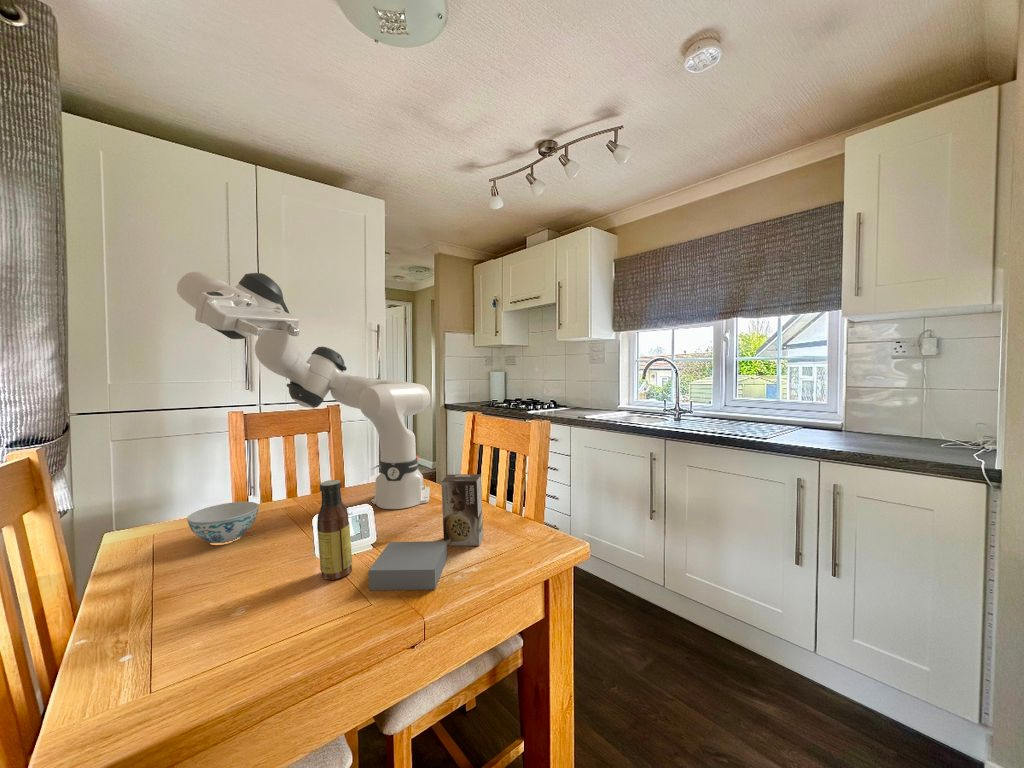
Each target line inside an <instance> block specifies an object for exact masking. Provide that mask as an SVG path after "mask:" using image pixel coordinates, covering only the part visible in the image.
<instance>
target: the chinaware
mask: <svg viewBox="0 0 1024 768" xmlns="http://www.w3.org/2000/svg"><path fill="white" fill-rule="evenodd" d="M258 512H259V503H257V502H253V501H234V502H227V503H226V502H225V503H220V504H216V505H212V506H209V507H208V506H207V507H204V508H201V509H198V510H196V511H194V512H192V513H190V514H189V515H188V516H187V517H186V521H187V524H188V526H189V528H190V530H191V531H192V533H193V534H194V535H195V536H196V537H198V538H199V539H201V540H203V541H205V542H210V543H225V542H229V541H233V540H235V539H237V538H239V537H240V536H241V537H242V535H244V533H246V532H247V531H248V530H249V529H250V528H251V526H252V525H253V523H254V522H255V520H256V519H257V516H258Z"/></svg>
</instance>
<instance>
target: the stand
mask: <svg viewBox="0 0 1024 768" xmlns="http://www.w3.org/2000/svg"><path fill="white" fill-rule="evenodd" d="M447 561H448V545H447V541H444V540H439V541H438V540H434V541H425V540H424V541H422V540H421V541H389V542H388V543H387V545H386V546H385V547H384V548H383V550H382V552H381V553H380V554H379V556H378V557H377V558H376V560H375V561H374V562H373V563H372V565H371V566H370V568H369V569H368V590H369V591H430V590H431V591H433V590H432V589H435V590H436V589H437V587H436V586H438V583H439V582H440V581H439V580H440V579H439V578H441V575H442V573H443V570H444V568H445V565H446V562H447ZM429 589H430V590H429Z"/></svg>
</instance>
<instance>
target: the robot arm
mask: <svg viewBox="0 0 1024 768" xmlns="http://www.w3.org/2000/svg"><path fill="white" fill-rule="evenodd" d="M176 291H177V294H178V296H179V297H180V298H181V299H182V300H184V302H186V304H188V305H190V306H191V307H193V308H194V309H195V312H194V313H195V315H194V320H195V321H196V322H198V323H201V324H204V325H206V326H207V327H210V328H211V329H212V330H215V331H216V332H218V333H221V335H224V336H225V337H226V338H229V339H231V340H243V339H244V340H245V339H247V338H248V337H249V336H250V335H253V336H258V337H257V339H256V342H255V344H254V354H255V356H256V358H257V360H258V361H259V362H260V363H261V365H263V366H264V367H265V368H266V369H268V370H269V371H271V372H272V373H274V374H275V375H278V376H281V377H283V378H286V379H288V380H289V383H287V384H286V387H287V388H288V393H289V396H290V397H291V399H292V400H293V401H294V402H295V403H296V404H298V405H299V406H300V407H303V408H312V409H315V408H318V407H320V405H321V404H323V403H324V401H325V400H324V399H325V397H327V394H328V393H329V392H330V395H331V397H332V398H333V399H334V400H335V401H337V402H338V403H339V404H342V405H344V406H348V407H350V408H354V409H357V410H358V409H359V410H360V412H361V413H362V414H363V416H365V418H367V419H369V420H370V422H371V423H372V424H373V426H374V427H375V429H376V431H377V435H378V438H379V448H380V460H379V466H378V468H379V472H380V474H379V475H378V476H376V477H375V488H374V489H375V490H374V498H372V499H370V503H371V502H372V503H373V504H372V503H371V504H372V505H375V504H376V505H375V506H377V507H378V508H381V509H385V510H401V509H406V508H412V507H414V506H418V505H421V504H426V503H429V502H430V494H431V492H430V491H431V490H430V488H431V487H429V486H425V485H424V475H423V474H422V472H421V471H420V470H419V456H418V455H417V448H416V446H417V443H416V435H415V433H414V432H413V431H412V430H411V429H410V428H408V427H406V424H405V421H404V417H409V416H414V415H417V414H420V413H422V412H424V411H426V410H427V409H428V408H429V406H430V403H431V394H430V391H429V389H428V388H427V387H426V386H425V385H424V384H422V383H421V384H420V383H415V382H409V381H401V380H399V381H398V380H391V379H377V378H371V377H365V376H358V375H349V374H347V373H344V372H345V371H347V369H348V368H347V366H346V365H345V361H344V359H343V356H342V355H341V354H340V353H338V352H337V351H336V349H333V348H331V347H328V346H327V347H326V346H317V347H316V348H315V349H314V350H313V351H312V352H311V353H310V357H308V359H307V360H305V357H304V355H303V353H302V351H301V350H300V348H299V346H297V345H296V341H295V340H296V337H298V336H299V335H300V331H301V330H300V329H299V324H300V318H298V317H297V316H295V315H293V314H291V313H290V312H289V309H288V307H287V304H286V302H285V300H284V295H283V291H282V288H281V287H280V285H278V283H277V282H276V281H275V280H274V279H273V278H271V277H270V276H268V275H267V274H264V273H262V272H251V273H245V274H244V275H243V277H242V278H241V279H240V281H238V284H237V285H235V286H231V285H230V284H228V283H227V282H225V281H224V280H222V279H220V278H218V277H216V276H214V275H211V274H208V273H205V272H201V271H191V272H188V273H186V274H184V275H183V276H182V277H181V278H180V279H179V281H178V282H177V285H176Z"/></svg>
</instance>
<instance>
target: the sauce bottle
mask: <svg viewBox="0 0 1024 768" xmlns="http://www.w3.org/2000/svg"><path fill="white" fill-rule="evenodd" d="M341 481H342V480H340V479H331V480H329V479H328V480H325V481H322V482H321V483H320V484H319V491H320V493H321V495H320V496H321V507H320V509H319V512H318V514H317V523H316V524H317V526H316V527H317V528H316V530H317V541H318V542H317V544H318V552H319V555H318V556H319V566H320V567H319V568H320V569H319V570H320V572H321V577H322V578H323V579H325V580H330V581H334V580H338V579H342V578H345V577H347V576H349V574H350V573H351V572H352V571H353V570H352V569H353V565H352V564H353V554H352V542H351V527H350V521H349V512H348V508H347V507H346V505H345V504H344V503H343V501H342V499H343V498H342V493H341V492H342V491H341V488H342V482H341Z"/></svg>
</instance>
